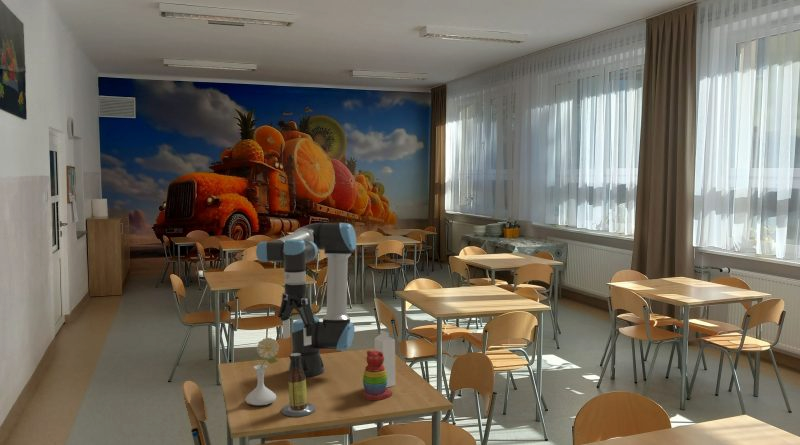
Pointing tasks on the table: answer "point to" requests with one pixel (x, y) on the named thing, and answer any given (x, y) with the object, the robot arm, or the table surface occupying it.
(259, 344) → the flower in vase
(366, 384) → the stacking bear
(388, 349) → the milk
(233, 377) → the table surface
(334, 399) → the table surface
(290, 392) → the sauce bottle
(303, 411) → the coaster
